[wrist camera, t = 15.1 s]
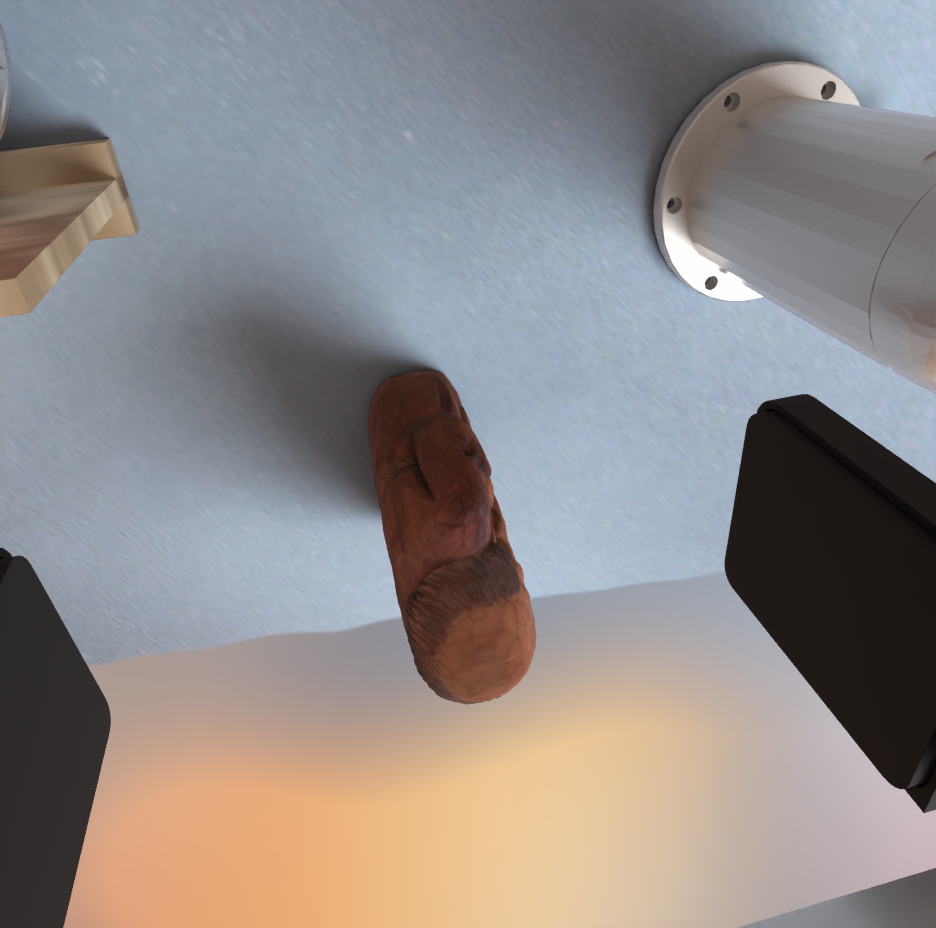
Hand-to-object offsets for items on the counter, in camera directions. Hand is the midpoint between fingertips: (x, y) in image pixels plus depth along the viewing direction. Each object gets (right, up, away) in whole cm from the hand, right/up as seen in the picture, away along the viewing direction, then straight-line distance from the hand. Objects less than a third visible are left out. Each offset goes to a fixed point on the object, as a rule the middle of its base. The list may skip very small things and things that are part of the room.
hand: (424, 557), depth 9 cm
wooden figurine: (-3, +2, +35) cm, 35 cm away
